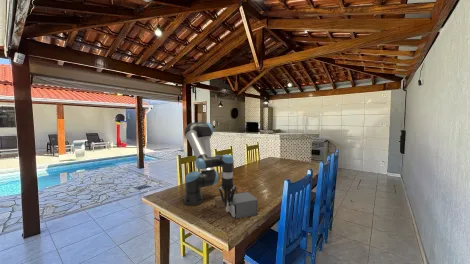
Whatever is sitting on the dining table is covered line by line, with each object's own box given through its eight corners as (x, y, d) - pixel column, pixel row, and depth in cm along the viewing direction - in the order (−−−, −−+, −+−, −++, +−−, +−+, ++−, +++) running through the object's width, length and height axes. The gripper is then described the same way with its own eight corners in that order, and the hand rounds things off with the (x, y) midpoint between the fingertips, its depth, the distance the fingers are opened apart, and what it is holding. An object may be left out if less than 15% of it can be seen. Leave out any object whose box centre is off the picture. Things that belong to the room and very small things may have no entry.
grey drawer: (227, 209, 140) (227, 199, 139) (247, 205, 145) (247, 196, 144) (233, 217, 128) (233, 207, 127) (254, 213, 133) (254, 203, 133)
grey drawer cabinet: (228, 208, 141) (228, 194, 140) (248, 205, 147) (248, 191, 146) (235, 218, 127) (235, 203, 126) (257, 214, 133) (257, 199, 132)
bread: (224, 199, 159) (224, 187, 158) (231, 194, 168) (231, 183, 168) (244, 203, 150) (244, 191, 149) (250, 199, 159) (250, 187, 158)
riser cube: (215, 204, 148) (215, 197, 148) (222, 203, 150) (222, 196, 150) (217, 208, 142) (216, 200, 142) (224, 206, 144) (224, 199, 144)
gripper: (220, 179, 126) (219, 214, 127) (238, 178, 130) (237, 212, 131) (217, 176, 133) (216, 209, 134) (234, 175, 137) (233, 207, 138)
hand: (227, 210), depth 133 cm, fingers closed
